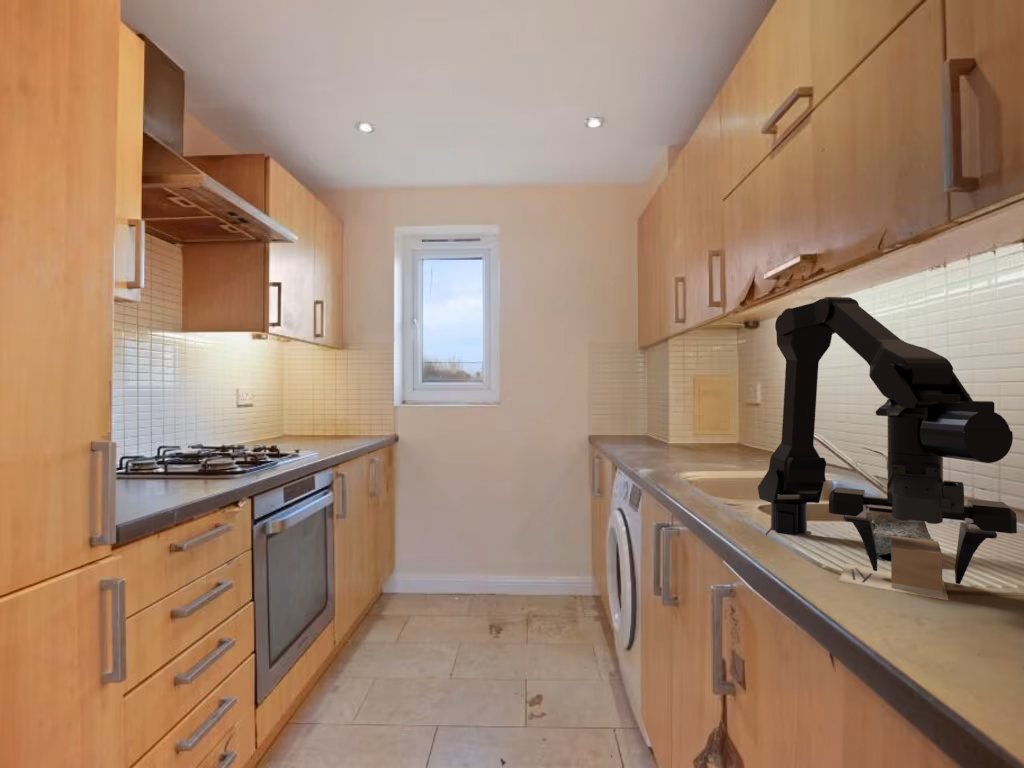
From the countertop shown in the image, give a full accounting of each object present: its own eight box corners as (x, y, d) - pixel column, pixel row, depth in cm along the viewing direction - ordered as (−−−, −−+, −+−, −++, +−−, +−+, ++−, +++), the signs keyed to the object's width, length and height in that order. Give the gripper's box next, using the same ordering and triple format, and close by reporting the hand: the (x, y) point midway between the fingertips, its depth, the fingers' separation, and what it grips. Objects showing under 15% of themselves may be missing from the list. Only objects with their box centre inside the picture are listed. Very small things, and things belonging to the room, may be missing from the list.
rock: (943, 578, 76) (942, 530, 76) (869, 570, 80) (868, 524, 80) (921, 554, 88) (920, 512, 88) (858, 548, 92) (857, 508, 92)
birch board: (844, 572, 79) (844, 563, 79) (942, 587, 73) (942, 578, 73) (839, 590, 71) (839, 581, 71) (948, 610, 65) (948, 599, 65)
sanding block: (891, 572, 75) (891, 535, 75) (938, 580, 72) (937, 541, 72) (891, 587, 69) (891, 547, 69) (942, 596, 66) (942, 554, 66)
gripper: (824, 453, 69) (824, 579, 69) (1026, 465, 59) (1027, 614, 59) (832, 447, 79) (832, 558, 78) (1007, 456, 68) (1008, 584, 68)
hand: (915, 576), depth 71 cm, fingers open, 8 cm apart
